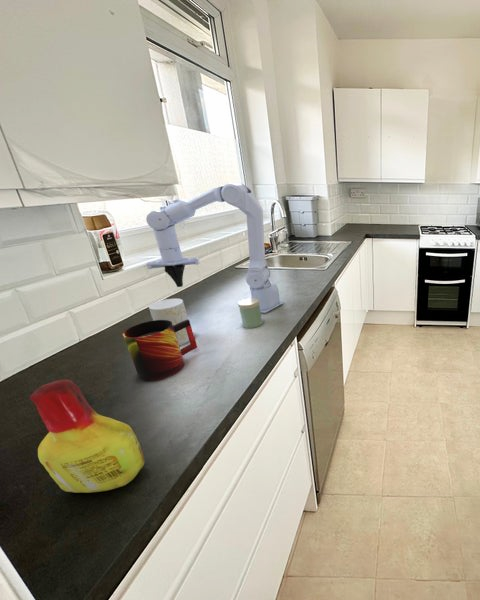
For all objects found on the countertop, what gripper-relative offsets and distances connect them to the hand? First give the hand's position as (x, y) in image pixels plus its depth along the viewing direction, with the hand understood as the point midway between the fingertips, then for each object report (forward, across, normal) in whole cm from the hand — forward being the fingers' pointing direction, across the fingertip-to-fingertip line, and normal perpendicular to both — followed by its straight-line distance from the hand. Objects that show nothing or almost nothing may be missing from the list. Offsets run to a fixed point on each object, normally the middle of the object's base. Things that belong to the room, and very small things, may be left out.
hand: (180, 286), depth 109 cm
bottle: (+11, -2, -72) cm, 73 cm away
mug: (+11, 0, -36) cm, 38 cm away
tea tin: (+10, +21, -19) cm, 31 cm away
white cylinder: (+11, 0, -22) cm, 24 cm away
